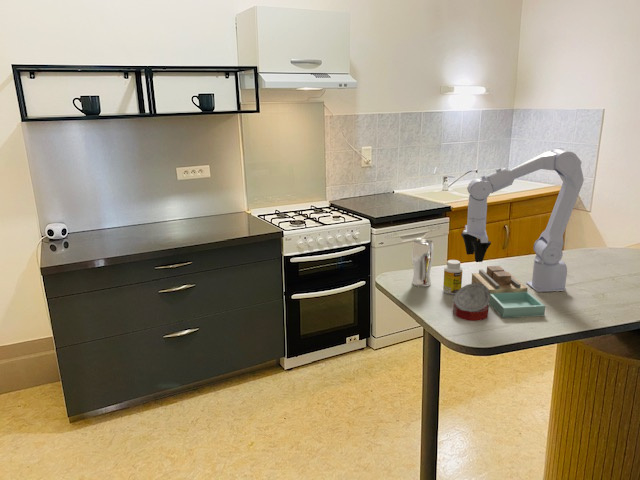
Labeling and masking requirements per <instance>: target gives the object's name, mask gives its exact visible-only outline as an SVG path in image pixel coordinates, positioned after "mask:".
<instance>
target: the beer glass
mask: <svg viewBox="0 0 640 480" xmlns="http://www.w3.org/2000/svg"><path fill="white" fill-rule="evenodd" d="M411 260H412V261H411V262H412V268H413V269H412V270H413V278H412V282H411V283H413V284H414V285H413V284H412V285H413V286H415V287H418V286H419V288H426V287H430V286H431V284H432V283H431V269H432V265H433V260H434V240H433V239H430V238H421V237H419V238H418V237H417V238H414V239H413V240H412V245H411Z"/></svg>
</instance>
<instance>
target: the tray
mask: <svg viewBox="0 0 640 480" xmlns="http://www.w3.org/2000/svg"><path fill="white" fill-rule="evenodd" d="M488 305H489V306H491V307H492V308H493V309H494V310H495V311H496V312H497V313H498V314H499V316H501V318H503V319H504V318H505V319H507V318H524V317H525V318H527V317H544V316H546V315H545V313H546V305H545V304H544V303H543V302H541V300H539V299H538V298H537V297H535V296H534V295H533V294H532V293H531V292H530V291H528V290H527V291H521V292H501V293H490V301H489V304H488Z"/></svg>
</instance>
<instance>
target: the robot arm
mask: <svg viewBox="0 0 640 480" xmlns="http://www.w3.org/2000/svg"><path fill="white" fill-rule="evenodd" d="M539 170H546V171H555V172H556V173H557V175H558V176H559V178H560V179H561V181H562V184H561V185H560V186H561V187H560V189H559V192H558V195H557V198H556V200H555V203H554V206H553V209H552V211H551V214H550V217H549V219H548V223H547V224H546V228H545V229H544V230H543V231H542V232H541V233H540V235H539V237H538V239H536V240H535V242H534V244H533V251H534V253H535V257H534V259H533V270H532V279H531V280H530V281H526V284H527V285H529V287H531V288H532V289H533V290H535V292H537V293H546V292H562V291H563V292H566V291H567V288H566V284H567V277H568V276H567V275H568V267H567V264H566V263H565V262H564V260H562V259H563V255H564V254H563V253H564V252H563V247H564V245H565V244H564V234H565V231H566V228H567V225H568V223H569V221H570V217H571V216H572V213H573V211H574V207H575V205H576V202H577V199H578V196H579V194H580V191H581V189H582V186H583V184H584V174H583V170H582V160H581V159H580V158H579V157H578V155H577V154H576V153H574V152H572V151H570V150H569V151H568V150H565V149H564V148H561V147H560V148H559V147H558V148H554V149H552V150H551V151H550V150H548V151H545V152H543V153H541V154H539V155H537V156H534V157H532V158H531V159H529V160H527V161H525V162H523V163H521V164H519V165H516V166H515V167H513V168H510V169H508V168H507V167H502V168H501V167H498V168H496V169H495V171H494V172H492V173H489V174H487V175H484V174H483V175H481V176H480V178H474V179H472V180H471V181H470V183H469V184H468V186H467V188H466V189H467V192H468V194H469V195H468V204H467V218H466V219H467V220H466V221H467V222H466V224H465V225H464V230H462V232H461V234H460V235H461V236H462V238H463V242H464V247H465V251H466V252H465V253H466V255H467V256H468V255H474V262H475V263H483V261H484V259H485V256H486V252H487V251H488V249H489V247H490V245H491V244H492V242H491V241H490V240H489V236H488V234H487V229H486V228H487V227H486V226H487V215H488V214H487V213H488V212H487V211H488V198H489V196H490V194H493V193H496V192H498V191H500V190H503V189H504V188H507V187H509V186H512V185H513V183H514V181H515V180H516V179H518V178H521V177H524V176H526V175H529V174H531V173H534V172H537V171H539Z"/></svg>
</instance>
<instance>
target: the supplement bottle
mask: <svg viewBox="0 0 640 480" xmlns="http://www.w3.org/2000/svg"><path fill="white" fill-rule="evenodd" d="M446 263H447V264H446V266H445V267H444V268H443V271H444V273H443V286H442V287H443V290H442V291H443V292H444V293H445V294H447V295H455V294H456V292H458V291H459V290H460V288H462V284H463V283H462V281H463V268H462V267H461V261H460V260H457V259H449V260H447V262H446Z"/></svg>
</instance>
